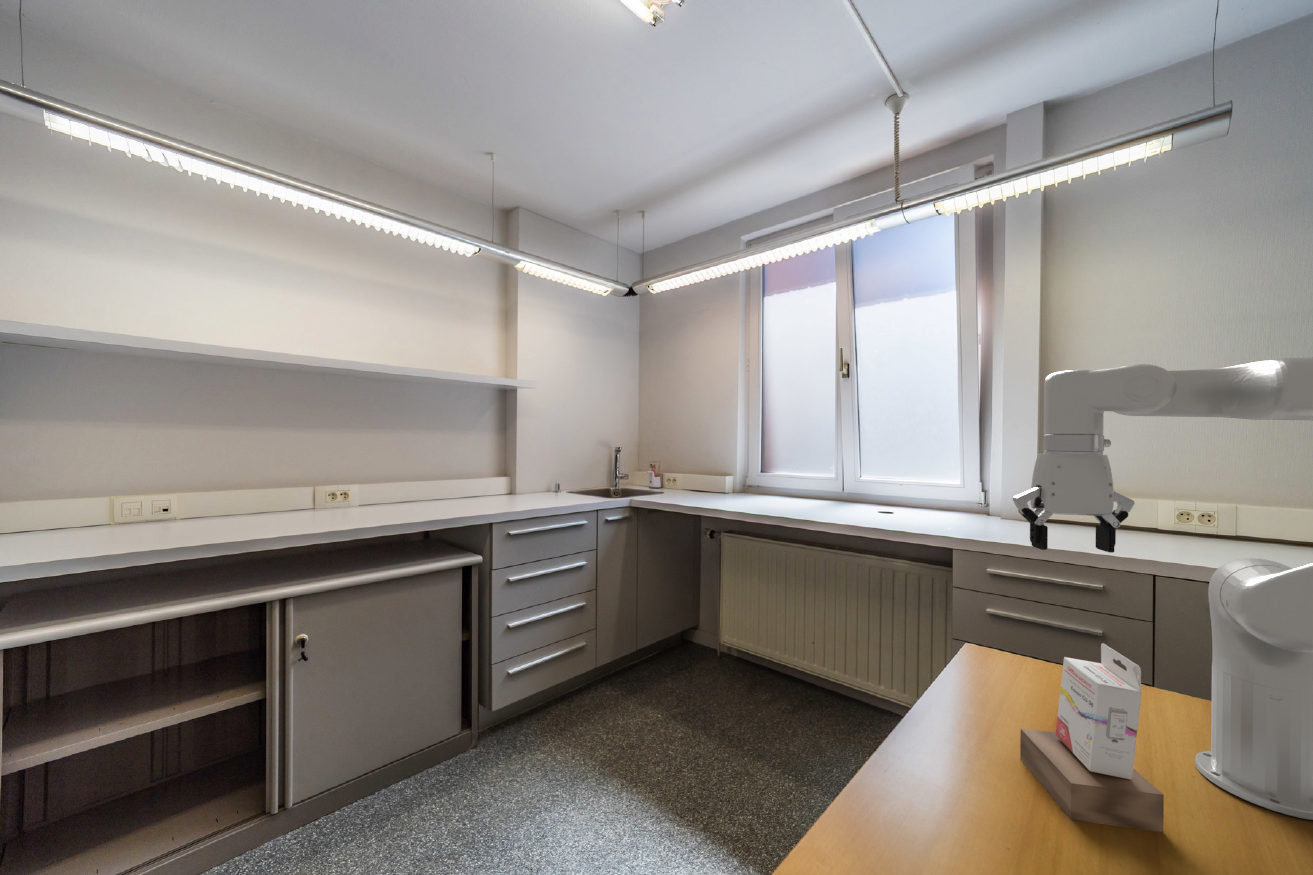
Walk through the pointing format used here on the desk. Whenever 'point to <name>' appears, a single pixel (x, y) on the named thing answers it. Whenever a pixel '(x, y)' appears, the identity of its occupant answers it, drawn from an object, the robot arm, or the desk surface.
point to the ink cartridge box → (1100, 712)
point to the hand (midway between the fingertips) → (1071, 549)
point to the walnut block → (1090, 786)
